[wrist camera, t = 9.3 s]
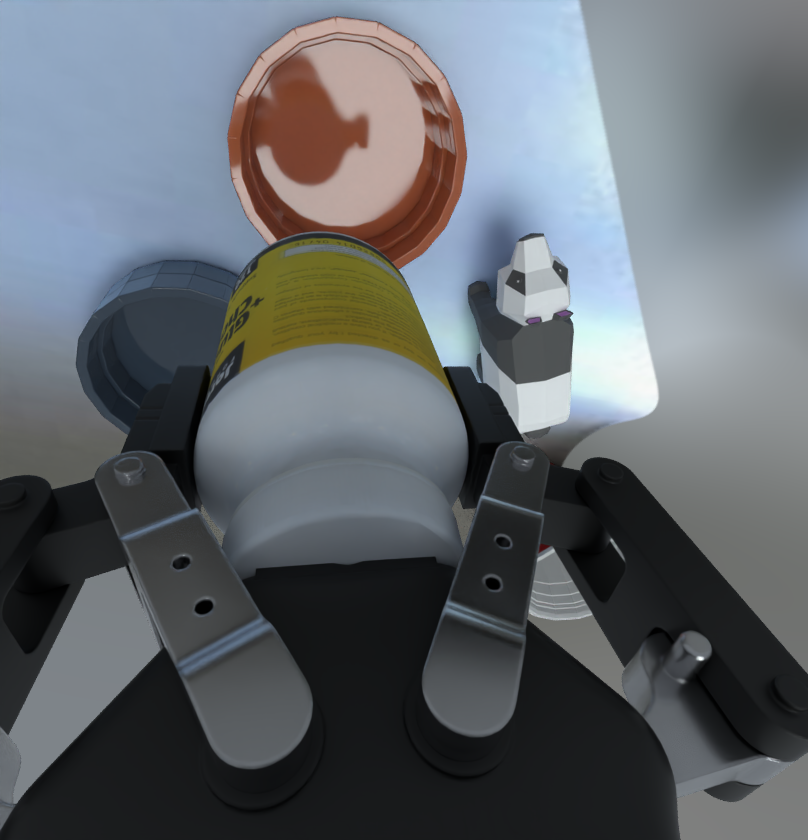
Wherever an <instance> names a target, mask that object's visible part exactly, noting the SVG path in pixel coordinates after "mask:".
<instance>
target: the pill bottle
mask: <svg viewBox="0 0 808 840" xmlns="http://www.w3.org/2000/svg"><path fill="white" fill-rule="evenodd" d="M468 458H469V451H468V438H467V432H466V428H465V424H464V421H463V418H462V415H461V412H460V410H459V407H458V404H457V402H456V399H455V397H454V395H453V392H452V390H451V387H450V385H449V382H448V380H447V378H446V375H445V373H444V370H443V368H442V365H441V363H440V360H439V358H438V355H437V353H436V351H435V348H434V346H433V343H432V341H431V338H430V336H429V334H428V331H427V329H426V326H425V324H424V322H423V319H422V317H421V315H420V313H419V310H418V308H417V306H416V303H415V301H414V298H413V296H412V294H411V291H410V289H409V287H408V285H407V283H406V281H405V279H404V277H403V276H402V274H401V273H400V271H399V270H398V269H397V267H396V266H395V265H394V264H393V263H392V262H391V261H390V260H389V259H388V258H387V257H386V256H385V255H384V254H382V253H381V252H380V251H379V250H377V249H376V248H374V247H373V246H371V245H369V244H368V243H366V242H364V241H361V240H359V239H357V238H354V237H351V236H348V235H344V234H340V233H334V232H307V233H300V234H296V235H292V236H289V237H286V238H283V239H281V240H279V241H277V242H275V243H273V244H271V245H269V246H268V247H266V248H265V249H264V250H262V251H261V252H260V253H259V254H258V255H256V256H255V257H254V258H253V259H252V260H251V261H250V262H249V264H248V265H247V266H246V267H245V268H244V270H243V271H242V273H241V274H240V276H239V278H238V280H237V281H236V283H235V285H234V288H233V291H232V294H231V297H230V300H229V304H228V309H227V313H226V317H225V322H224V326H223V330H222V334H221V338H220V342H219V347H218V351H217V355H216V360H215V364H214V368H213V372H212V376H211V380H210V384H209V389H208V392H207V395H206V399H205V404H204V408H203V412H202V416H201V420H200V423H199V427H198V432H197V437H196V442H195V447H194V457H193V469H194V477H195V483H196V487H197V491H198V494H199V497H200V500H201V502H202V504H203V506H204V508H205V510H206V511H207V513H208V515H209V516H210V518H211V520H212V521H213V522H214V524H215V525H216V526H217V527H218V528H219V529H220V530H221V531H222V532H223V533H224V534H225V535H224V538H223V544H222V549H223V551H224V552H225V554H226V556H227V557H228V559H229V561H230V562H231V564H232V566H233V567H234V569H235V571H236V572H237V574H238V576H239V577H240V579H241V580H244V579H246V578H249V577H252V576H255V575H256V568H269V567H282V566H296V565H310V564H325V563H336V564H343V565H351V564H355V563H359V562H362V561H369V560H384V559H400V558H417V557H433V556H435V557H436V561H437V563H440V564H445V565H448V566H452V567H455V568H457V566H458V563H459V560H460V557H461V554H462V551H463V545H462V541H461V538H460V534H459V530H458V525H457V521H456V518H455V516H454V513H453V511H452V509H451V508H452V506H453V505H454V503H455V501H456V499H457V498H458V496H459V493H460V491H461V489H462V486H463V483H464V480H465V477H466V472H467V467H468Z"/></svg>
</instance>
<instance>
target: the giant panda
mask: <svg viewBox="0 0 808 840" xmlns="http://www.w3.org/2000/svg"><path fill="white" fill-rule="evenodd" d="M468 300H469V305H470V308H471V311H472V313H473V315H474V318H475V321H476V325H477V329H478V332H479V340H480V349H481V353H480V354H479V355H478V356H477V372H478V375H479V378H480V380H481V382H482V383H487V384H488V385H489V386H490V387H492V388H493V389H494V390H495V391H496V392H498V394H499V396H500V397H501V399H502V401H503V403H504V406H505V407H506V409H507V410H508V412H509V415H510V416H511V418H512V420H513V421H514V423H515V425H516V427H517V429H518V431H519V433H520V434H521V433H524V434H525V435H526V436H527V437H528V438H540V437H542V436H544V435H545V434H547V433H548V432H549V430H550V426H553V425H557V424H562V423H564V422H565V421H567V419H568V417H569V414H570V399H571V372H572V347H573V334H574V329H573V323H572V321H571V319H570V317H571V315H572V314H573V313H572V312H571V311H568V310H566V309H567V308H568V307H569V305H570V286H569V275H568V269H567V267H566V266H565V265H564V264H563V263H562V262H561V260H560V259H559V258H558V257H557V256H552V253H551V251H550V248H549V246H548V243H547V241H546V239H545V236H544V234H542V233H531V234H528V235H526V236H524V237H522V238H520V239H519V241H517V243H516V246H515V249H514V253H513V256H512V259H511V263H510V265H508V266H506V267H504V268H502V269H500V270H498V281H497V299H493V298H491V294H490V290H489V288H488V285H487V283H486V282H479V281H477V282H475V283H473V284H471V285H469V287H468Z"/></svg>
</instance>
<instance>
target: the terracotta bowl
mask: <svg viewBox="0 0 808 840" xmlns="http://www.w3.org/2000/svg"><path fill="white" fill-rule="evenodd" d="M227 139H228V150H229V160H230V171H231V178H232V182H233V185H234V187H235V190H236V192H237V194H238V197H239V199H240V202H241V204H242V207H243V209H244V212H245V214H246V216H247V218H248V219H249V221H250V222H251V223H252V224H253V226H254V227H255V228H256V230H257V231H258V232H259V233H260V235H261V236H262V237H263V239H264V240H265V241H266V242H267V244H268V245H271V244H273V243H275V242H277V241H279V240H281V239H283V238H286V237H289V236H292V235H296V234H300V233H307V232H334V233H340V234H344V235H348V236H351V237H354V238H357V239H359V240H361V241H364V242H366V243H368V244H369V245H371V246H373V247H374V248H376V249H377V250H379V251H380V252H381V253H382V254H384V255H385V256H386V257H387V258H388V259H389V260H390V261H391V262H392V263H393V264H394V265H395V266H396V267H397V269H400V268H401V267H403V266H405V265H406V264H408V263H409V262H411V261H412V260H414V259H416V258H417V257H419V256H420V255H422V254H423V253H424V252H425V251H426V250H427V249H428V247H429V246H430V245H431V244H432V243H433V242H434V240H435V239H436V238H437V237H438V236H439V235H440V234H441V232H442V231H443V230H444V229H445V227H446V226H447V224H448V222H449V219H450V217H451V215H452V213H453V211H454V209H455V206H456V204H457V202H458V200H459V198H460V196H461V192H462V186H463V180H464V173H465V167H466V160H467V156H466V155H467V150H466V142H465V133H464V125H463V117H462V113H461V111H460V108H459V106H458V104H457V102H456V99H455V97H454V95H453V92H452V90H451V88H450V85H449V83H448V81H447V79H446V77H445V75H444V74H443V73H442V71H441V70H440V69H439V68H438V67H437V66H436V65H435V63H434V62H433V61H432V60H431V59H430V58H429V57H428V55H427V54H426V53H425V52H424V51H423V50H422V49H421V47H420V46H419V45H418V44H416V43H415V42H414V41H412V40H410V39H409V38H407V37H405V36H403V35H401V34H400V33H398V32H396V31H394V30H392V29H391V28H389V27H387V26H385V25H383V24H382V23H378V22H377V21H369V20H361V19H354V18H346V17H338V16H336V17H329V18H326V19H322V20H318V21H315V22H311V23H308V24H304V25H300V26H297V27H295V28H292V29H291V30H290V31H289V32H287V33H286V34H285V35H284V36H282V37H281V38H280V39H278V40H277V41H276V42H275V43H273V44H272V45H271V46H269V47H268V48H267V49H266V50H264V51H263V52H262V53H261V54H260V55H259V56H258V58H257V59H256V61H255V63H254V64H253V66H252V68H251V69H250V71H249V73H248V74H247V76H246V78H245V79H244V81H243V83H242V84H241V86H240V88H239V89H238V91H237V94H236V97H235V102H234V106H233V111H232V116H231V121H230V125H229V130H228V137H227Z"/></svg>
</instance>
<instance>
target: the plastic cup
mask: <svg viewBox="0 0 808 840" xmlns="http://www.w3.org/2000/svg"><path fill="white" fill-rule="evenodd" d="M549 463H550V462H549ZM550 464H552V465H554V464H553V463H550ZM610 542H611V543H612V544H613V546H614V547H615V549H616V550H617V551H618V553H619V554H620V556H621V557H622V559H623V560H624V557H623V554H622V552H621V551H620V549H619V548H618V547H617V545H616V544H615V542H614V541H613V540H612V538H611V540H610ZM624 561H625V560H624ZM529 613H530V614H532V615H533V616H536V617H541V618H546V619H551V620H568V619H580V618H583V617H587V616H590V615H593V614H592V612H591V611H590V609H589V607H588V606H587V604H586V602H585V601H584V599H583V597H582V596H581V594H580V592H579V590H578V589H577V587H576V585H575V584H574V582H573V580H572V579H571V577H570V575H569V574H568V572H567V570H566V569H565V567H564V565H563V564H562V562H561V560H560V559H559V557H558V555H557V554H556V552H555V550H554V548H553V546H549V545H544V544H540V547H539V553H538V559H537V565H536V571H535V577H534V583H533V588H532V594H531V600H530V606H529Z"/></svg>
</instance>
